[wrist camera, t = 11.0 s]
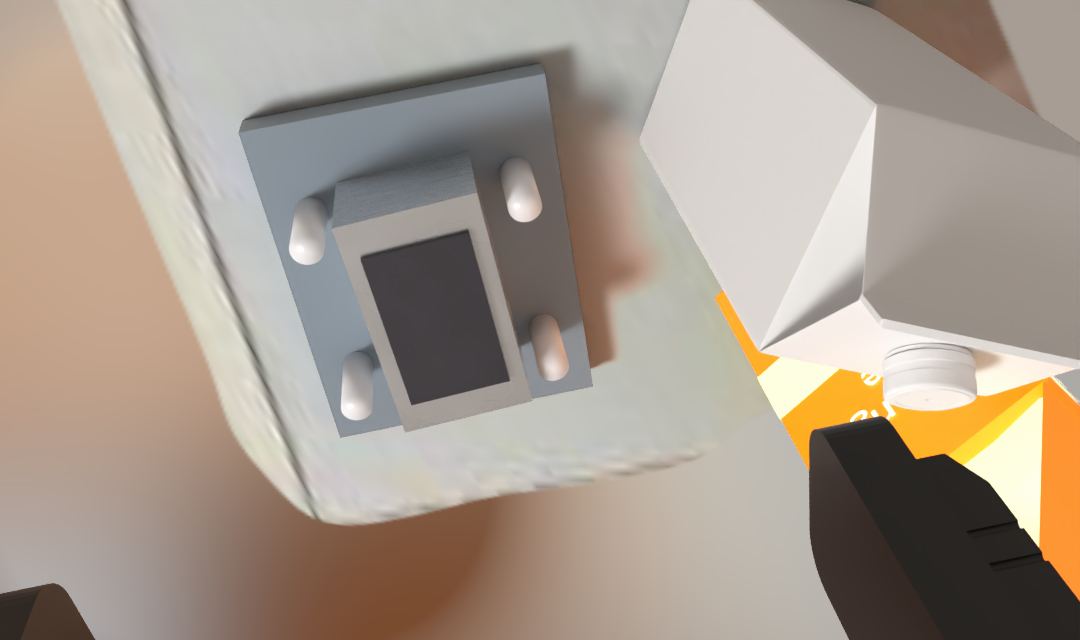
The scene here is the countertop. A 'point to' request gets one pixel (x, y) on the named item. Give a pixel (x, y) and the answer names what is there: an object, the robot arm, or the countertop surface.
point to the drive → (431, 289)
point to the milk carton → (871, 199)
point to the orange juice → (953, 437)
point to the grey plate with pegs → (403, 138)
